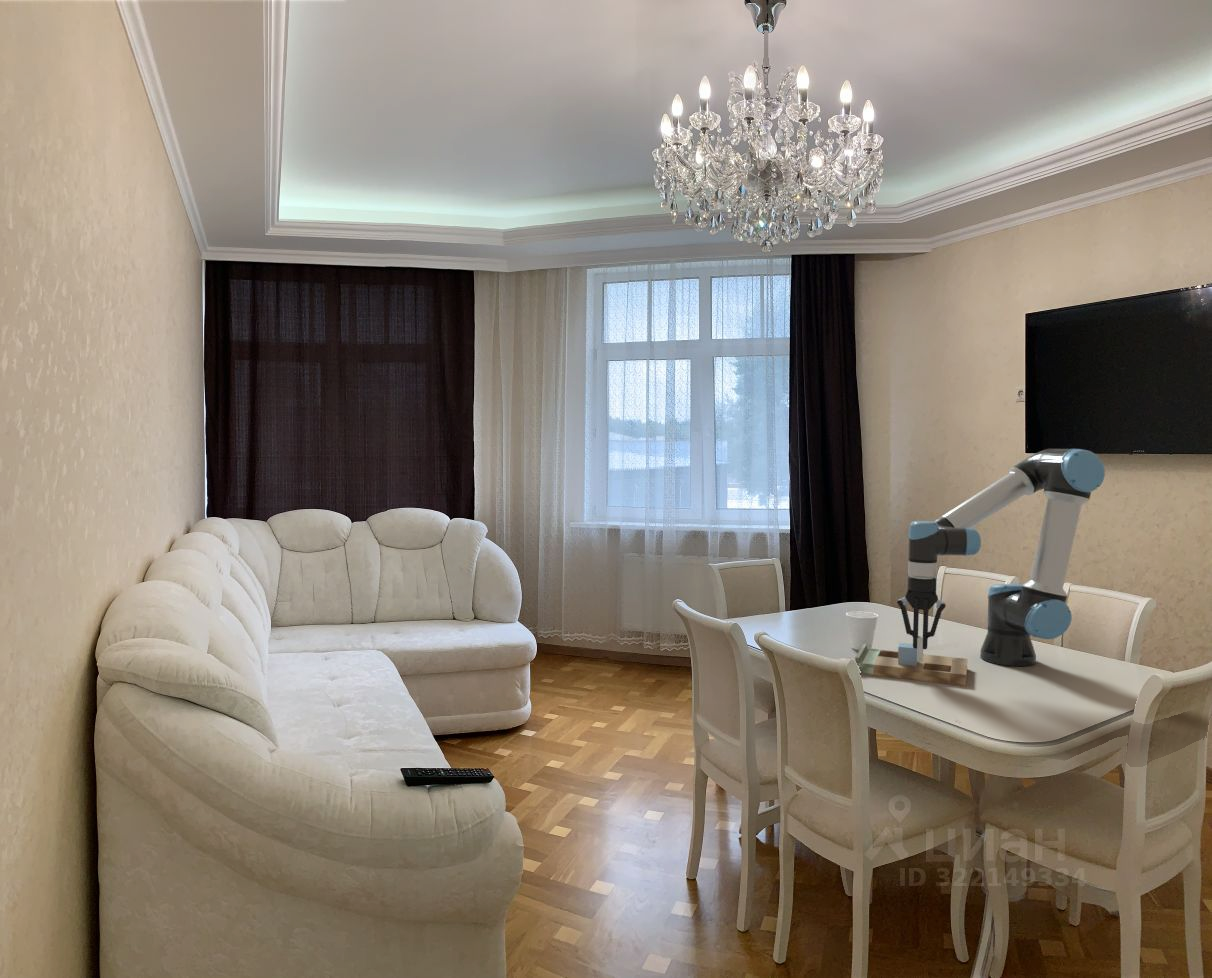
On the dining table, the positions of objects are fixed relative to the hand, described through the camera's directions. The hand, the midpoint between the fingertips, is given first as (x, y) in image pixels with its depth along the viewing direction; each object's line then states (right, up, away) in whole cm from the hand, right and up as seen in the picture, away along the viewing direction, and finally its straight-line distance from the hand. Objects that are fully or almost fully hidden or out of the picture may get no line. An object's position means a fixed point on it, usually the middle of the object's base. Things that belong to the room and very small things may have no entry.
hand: (919, 660), depth 232 cm
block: (-2, -1, +3) cm, 4 cm away
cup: (-7, -3, +31) cm, 32 cm away
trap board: (0, -4, +5) cm, 7 cm away
